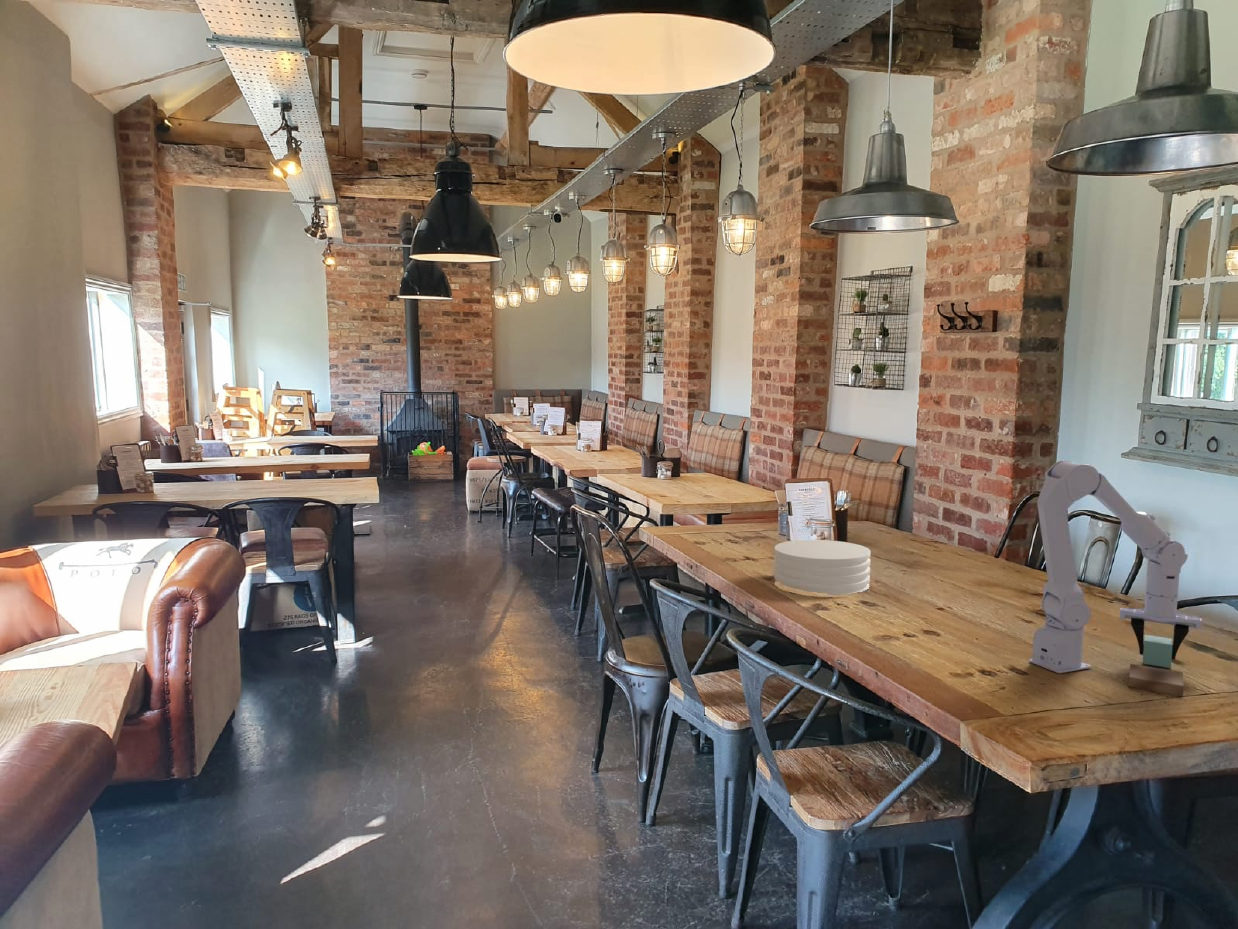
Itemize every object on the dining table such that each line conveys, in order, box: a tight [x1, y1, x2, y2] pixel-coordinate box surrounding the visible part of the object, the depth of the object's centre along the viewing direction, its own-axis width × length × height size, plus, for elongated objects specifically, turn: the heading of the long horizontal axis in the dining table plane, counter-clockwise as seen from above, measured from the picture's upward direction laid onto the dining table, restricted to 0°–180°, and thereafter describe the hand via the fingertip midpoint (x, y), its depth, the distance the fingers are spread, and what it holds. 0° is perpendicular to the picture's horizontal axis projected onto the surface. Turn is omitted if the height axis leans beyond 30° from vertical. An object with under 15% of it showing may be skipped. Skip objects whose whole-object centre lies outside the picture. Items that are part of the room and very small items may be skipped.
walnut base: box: [1128, 663, 1185, 697], centre depth 164 cm, size 9×9×2 cm
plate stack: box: [773, 539, 872, 595], centre depth 243 cm, size 28×28×12 cm
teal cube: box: [1142, 634, 1173, 669], centre depth 174 cm, size 5×5×5 cm
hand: (1157, 655), depth 174 cm, fingers closed on teal cube, 5 cm apart
